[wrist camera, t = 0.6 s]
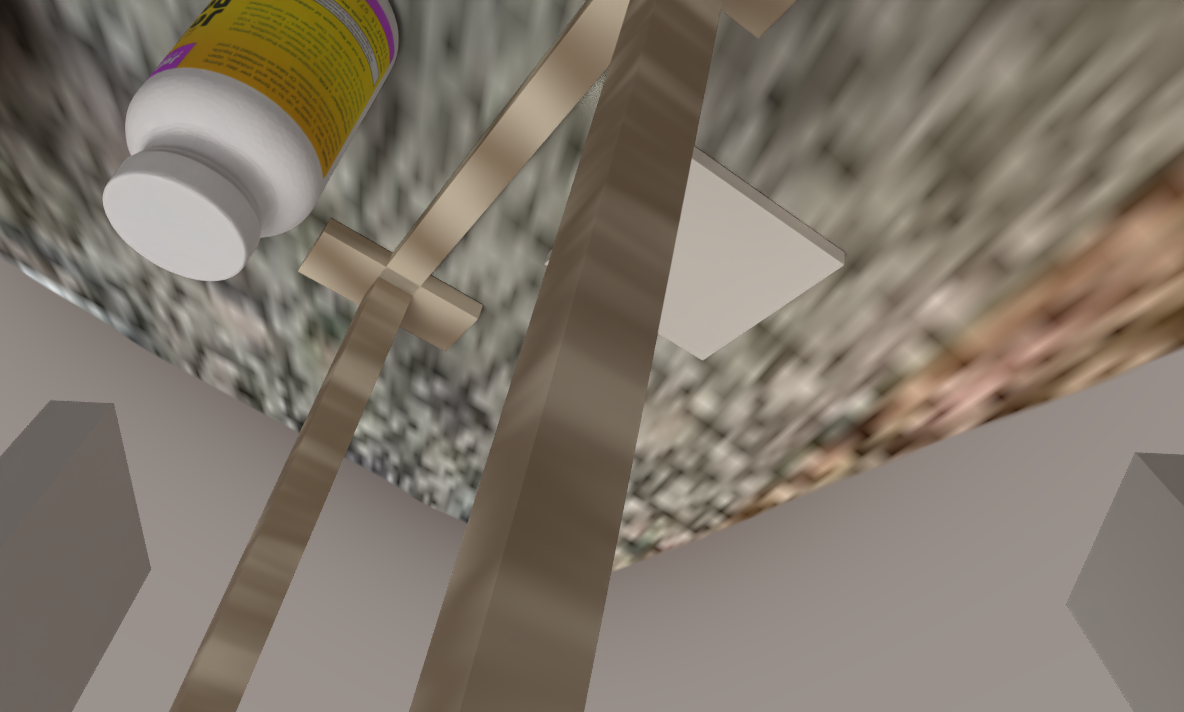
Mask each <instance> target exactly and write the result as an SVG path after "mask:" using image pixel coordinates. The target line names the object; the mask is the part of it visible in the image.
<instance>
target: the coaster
mask: <svg viewBox="0 0 1184 712" xmlns="http://www.w3.org/2000/svg"><path fill="white" fill-rule="evenodd" d="M552 249H553V248H552ZM552 249H551V250H550V251H549V252H548V254H547V258H546V261H545V264H544V265H546V266H548V262H549V259H550V256H551V253H552ZM844 256H845V252H843V251H842V250H840V249H839V248H838V247H836V246H835V245H833V244H832V243H831V242H829V241H828V240H826V239H825V238H823V237H822V236H821V235H819V234H818V233H816V232H815V231H814V230H812V229H811V228H809V227H808V226H807V225H805V224H804V223H802V222H801V221H799V220H798V219H797V218H795V217H794V216H792V215H791V214H790V213H788V212H787V211H785V210H784V209H782V208H781V207H780V206H778V205H777V204H775V203H774V202H773V201H771V200H770V199H768V198H767V197H765V196H764V195H763V194H761V193H760V192H758V191H757V190H756V189H754V188H753V187H751V186H750V185H748V184H747V183H746V182H744V181H743V180H741V179H740V178H739V177H737V176H736V175H734V174H733V173H731V172H730V171H729V170H727V169H726V168H724V167H723V166H722V165H720V164H719V163H717V162H716V161H715V160H713V159H712V158H710V157H709V156H707V155H706V154H705V153H703V152H702V151H700V150H699V149H698V148H696V147H695V146H694V150H693V155H692V160H691V165H690V170H689V176H688V181H687V186H686V191H685V196H684V201H683V206H682V211H681V217H680V222H679V227H678V232H677V237H676V242H675V247H674V252H673V258H672V263H671V268H670V273H669V278H668V283H667V288H666V293H665V299H664V304H663V309H662V314H661V319H660V324H659V329H658V334H660V335H661V336H663V337H665V338H666V339H668V340H670V341H671V342H673V343H675V344H676V345H678V346H679V347H681V348H683V349H684V350H686V351H688V352H689V353H691V354H693V355H694V356H696V357H698V358H699V359H701V360H704V359H705V358H707V357H708V356H710V355H711V354H713V353H714V352H716V351H717V350H719V349H720V348H722V347H723V346H725V345H726V344H728V343H729V342H731V341H732V340H734V339H735V338H737V337H738V336H740V335H741V334H743V333H744V332H745V331H747V330H748V329H750V328H751V327H753V326H754V325H756V324H757V323H759V322H760V321H762V320H763V319H765V318H766V317H768V316H769V315H771V314H772V313H774V312H775V311H777V310H778V309H780V308H781V307H783V306H784V305H786V304H787V303H788V302H790V301H791V300H793V299H794V298H796V297H797V296H799V295H800V294H802V293H803V292H805V291H806V290H808V289H809V288H811V287H812V286H814V285H815V284H817V283H818V282H820V281H821V280H823V279H824V278H826V277H827V276H829V275H830V274H831V273H833V272H834V271H836V270H837V269H839V268H840V267H842V266H843V265H844Z"/></svg>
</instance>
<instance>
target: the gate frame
mask: <svg viewBox="0 0 1184 712" xmlns="http://www.w3.org/2000/svg"><path fill="white" fill-rule="evenodd" d="M795 1H796V0H587V1H586V2H585V4H584V5H583V6H582V7H581V9H580V10H579V11H578V13H577V14H576V15H575V17H574V18H573V19H572V20H571V22H570V23H569V24H568V26H567V27H566V28H565V30H564V31H563V32H562V33H561V35H560V36H559V37H558V39H557V40H556V41H555V43H554V44H553V45H552V46H551V48H550V49H549V50H548V52H547V53H546V54H545V56H544V57H543V58H542V59H541V61H540V62H539V63H538V65H537V66H536V67H535V69H534V70H533V71H532V72H531V74H530V75H529V76H528V78H527V79H526V80H525V82H524V83H523V84H522V85H521V87H520V88H519V89H518V91H517V92H516V93H515V95H514V96H513V97H512V98H511V100H510V101H509V102H508V104H507V105H506V106H505V108H504V109H503V110H502V111H501V113H500V114H499V115H498V117H497V118H496V119H495V121H494V122H493V123H492V124H491V126H490V127H489V128H488V130H487V131H486V132H485V134H484V135H483V136H482V137H481V139H480V140H479V141H478V143H477V144H476V145H475V146H474V148H473V149H472V150H471V152H470V153H469V154H468V156H467V157H466V158H465V159H464V161H463V162H462V163H461V165H460V166H459V167H458V169H457V170H456V171H455V172H454V174H453V175H452V176H451V178H450V179H449V180H448V182H447V183H446V184H445V185H444V187H443V188H442V189H441V191H440V192H439V193H438V195H437V196H436V197H435V198H434V200H433V201H432V202H431V204H430V205H429V206H428V208H427V209H426V210H425V211H424V213H423V214H422V215H421V217H420V218H419V219H418V221H417V222H416V223H415V224H414V226H413V227H412V228H411V230H410V231H409V232H408V234H407V235H406V236H405V237H404V239H403V240H402V241H401V243H400V244H399V245H398V247H397V248H396V249H395V250H394V252H393V253H391V252H389V251H388V250H386V249H384V248H382V247H381V246H379V245H377V244H375V243H374V242H372V241H370V240H368V239H367V238H365V237H363V236H361V235H360V234H358V233H356V232H355V231H353V230H351V229H349V228H348V227H346V226H344V225H342V224H341V223H339V222H337V221H335V220H334V219H332V218H331V219H330V220H329V222H328V223H327V225H326V227H325V228H324V230H323V231H322V233H321V234H320V236H319V237H318V239H317V241H316V242H315V244H314V245H313V247H312V248H311V250H310V251H309V253H308V255H307V256H306V258H305V259H304V261H303V263H302V265H301V267H300V269H299V271H298V272H300V273H302V274H304V275H305V276H307V277H309V278H311V279H313V280H315V281H317V282H318V283H320V284H322V285H324V286H326V287H328V288H329V289H331V290H333V291H335V292H337V293H339V294H340V295H342V296H344V297H346V298H348V299H350V300H351V301H353V302H355V303H357V304H359V307H358V310H357V312H356V314H355V316H354V318H353V320H352V322H351V324H350V327H349V329H348V331H347V333H346V335H345V337H344V339H343V342H342V344H341V346H340V348H339V350H338V352H337V354H336V357H335V359H334V361H333V363H332V365H331V367H330V369H329V371H328V374H327V376H326V378H325V380H324V382H323V384H322V386H321V389H320V391H319V393H318V395H317V397H316V399H315V401H314V403H313V406H312V408H311V410H310V412H309V414H308V416H307V418H306V421H305V423H304V425H303V427H302V429H301V431H300V433H299V436H298V438H297V440H296V442H295V444H294V446H293V448H292V451H291V453H290V455H289V457H288V459H287V461H286V463H285V466H284V468H283V470H282V472H281V474H280V476H279V478H278V481H277V483H276V485H275V487H274V489H273V491H272V493H271V495H270V498H269V500H268V502H267V504H266V506H265V508H264V510H263V513H262V515H261V517H260V519H259V521H258V523H257V525H256V527H255V530H254V532H253V534H252V536H251V538H250V540H249V543H248V545H247V547H246V549H245V551H244V553H243V555H242V557H241V559H240V561H239V564H238V566H237V568H236V570H235V572H234V574H233V577H232V579H231V581H230V583H229V585H228V587H227V589H226V592H225V594H224V596H223V598H222V600H221V602H220V604H219V606H218V608H217V611H216V613H215V615H214V617H213V619H212V621H211V624H210V626H209V628H208V630H207V632H206V634H205V636H204V639H203V640H202V643H201V645H200V647H199V649H198V651H197V654H196V655H195V658H194V660H193V662H192V664H191V666H190V668H189V670H188V673H187V675H186V677H185V679H184V681H183V684H182V685H181V687H180V690H179V692H178V694H177V696H176V698H175V700H174V702H173V705H172V707H171V709H170V711H169V712H236V710H237V708H238V705H239V703H240V701H241V698H242V696H243V694H244V691H245V689H246V687H247V684H248V682H249V680H250V677H251V675H252V672H253V670H254V668H255V665H256V663H257V660H258V658H259V656H260V654H261V651H262V649H263V647H264V644H265V642H266V640H267V637H268V635H269V632H270V630H271V628H272V625H273V623H274V621H275V618H276V616H277V614H278V611H279V609H280V607H281V604H282V602H283V599H284V597H285V595H286V592H287V590H288V588H289V585H290V583H291V580H292V578H293V576H294V574H295V571H296V569H297V566H298V564H299V561H300V559H301V557H302V555H303V552H304V550H305V547H306V545H307V543H308V540H309V538H310V536H311V533H312V531H313V529H314V526H315V524H316V521H317V519H318V517H319V515H320V512H321V510H322V508H323V505H324V502H325V500H326V498H327V496H328V493H329V491H330V489H331V486H332V484H333V482H334V479H335V477H336V474H337V472H338V470H339V468H340V465H341V462H342V460H343V458H344V456H345V453H346V451H347V449H348V446H349V444H350V442H351V439H352V437H353V435H354V432H355V430H356V427H357V425H358V423H359V420H360V418H361V416H362V413H363V411H364V409H365V406H366V404H367V402H368V399H369V397H370V394H371V392H372V390H373V387H374V385H375V383H376V380H377V378H378V376H379V373H380V371H381V369H382V366H383V364H384V361H385V359H386V357H387V354H388V352H389V350H390V347H391V345H392V343H393V340H394V338H395V336H396V333H397V331H398V328H399V327H401V328H403V329H405V330H407V331H408V332H410V333H412V334H414V335H416V336H418V337H419V338H421V339H423V340H425V341H427V342H429V343H430V344H432V345H434V346H436V347H438V348H440V349H441V350H443V351H445V352H446V351H447V350H448V349H449V348H450V347H451V346H452V345H453V344H454V343H455V342H456V341H457V340H458V339H459V338H460V337H461V336H462V335H463V334H464V333H465V332H466V331H467V330H468V329H469V328H470V327H471V326H472V325H473V324H474V323H475V322H476V321H477V320H478V318H479V315H480V312H481V309H482V307H483V305H482V304H480V303H478V302H477V301H475V300H473V299H471V298H470V297H468V296H466V295H464V294H463V293H461V292H459V291H457V290H456V289H454V288H452V287H450V286H449V285H447V284H445V283H443V282H442V281H440V280H438V279H436V278H435V277H433V276H431V275H430V274H431V273H432V272H433V271H434V270H435V269H436V267H437V266H438V265H439V264H440V263H441V262H442V260H443V259H444V258H445V257H446V256H447V255H448V253H449V252H450V251H451V250H452V249H453V248H454V246H455V245H456V244H457V243H458V242H459V241H460V239H461V238H462V237H463V236H464V235H465V234H466V232H467V231H468V230H469V229H470V228H471V227H472V225H473V224H474V223H475V222H476V221H477V219H478V218H479V217H480V216H481V215H482V214H483V212H484V211H485V210H486V209H487V208H488V207H489V205H490V204H491V203H492V202H493V201H494V200H495V198H496V197H497V196H498V195H499V194H500V193H501V191H502V190H503V189H504V188H505V187H506V186H507V184H508V183H509V182H510V181H511V180H512V179H513V177H514V176H515V175H516V174H517V173H518V172H519V170H520V169H521V168H522V167H523V166H524V165H525V163H526V162H527V161H528V160H529V159H530V157H531V156H532V155H533V154H534V153H535V152H536V150H537V149H538V148H539V147H540V146H541V145H542V143H543V142H544V141H545V140H546V139H547V138H548V136H549V135H550V134H551V133H552V132H553V131H554V129H555V128H556V127H557V126H558V125H559V124H560V122H561V121H562V120H563V119H564V118H565V117H566V115H567V114H568V113H569V112H570V111H571V110H572V108H573V107H574V106H575V105H576V104H577V103H578V101H579V100H580V99H581V98H582V97H583V95H584V94H585V93H586V92H587V91H588V90H589V88H590V87H591V86H592V85H593V84H594V83H595V81H596V80H597V79H598V78H599V77H600V76H601V74H602V73H603V72H604V71H605V70H606V69H607V67H608V66H609V65H610V66H609V69H608V72H607V75H606V79H605V82H604V85H603V88H602V92H601V95H600V98H599V101H598V104H597V108H596V111H595V114H594V117H593V121H592V124H591V127H590V130H589V133H588V137H587V140H586V143H585V146H584V150H583V153H582V156H581V159H580V162H579V166H578V169H577V172H576V175H575V179H574V182H573V185H572V188H571V191H570V195H569V198H568V201H567V204H566V208H565V211H564V214H563V217H562V220H561V224H560V227H559V230H558V233H557V237H556V240H555V243H554V246H553V249H552V253H551V256H550V259H549V262H548V266H547V269H546V272H545V275H544V278H543V282H542V285H541V288H540V291H539V295H538V298H537V301H536V304H535V307H534V311H533V314H532V317H531V320H530V324H529V327H528V330H527V333H526V336H525V340H524V343H523V346H522V349H521V353H520V356H519V359H518V362H517V365H516V369H515V372H514V375H513V378H512V382H511V385H510V388H509V391H508V395H507V398H506V401H505V404H504V407H503V411H502V414H501V417H500V420H499V424H498V427H497V430H496V433H495V436H494V440H493V443H492V446H491V449H490V453H489V456H488V459H487V462H486V465H485V469H484V472H483V475H482V478H481V482H480V485H479V488H478V491H477V494H476V498H475V501H474V504H473V507H472V511H471V514H470V517H469V520H468V523H467V527H466V530H465V533H464V537H463V540H462V543H461V546H460V549H459V553H458V556H457V559H456V562H455V565H454V569H453V572H452V575H451V578H450V582H449V585H448V588H447V591H446V595H445V598H444V601H443V604H442V607H441V611H440V614H439V617H438V620H437V624H436V627H435V630H434V633H433V636H432V639H431V643H430V646H429V649H428V653H427V656H426V659H425V662H424V666H423V669H422V672H421V675H420V678H419V681H418V685H417V688H416V691H415V694H414V698H413V701H412V704H411V707H410V710H409V712H584V709H585V703H586V699H587V693H588V688H589V683H590V678H591V673H592V668H593V662H594V658H595V652H596V647H597V642H598V637H599V632H600V627H601V622H602V616H603V611H604V606H605V601H606V596H607V590H608V586H609V580H610V575H611V570H612V565H613V560H614V555H615V550H616V545H617V540H618V534H619V529H620V524H621V519H622V514H623V509H624V504H625V499H626V493H627V488H628V483H629V478H630V473H631V468H632V463H633V458H634V452H635V447H636V442H637V437H638V432H639V427H640V422H641V417H642V411H643V406H644V401H645V396H646V391H647V386H648V381H649V376H650V370H651V365H652V360H653V355H654V350H655V345H656V340H657V334H658V329H659V324H660V319H661V314H662V309H663V304H664V299H665V293H666V288H667V283H668V278H669V273H670V268H671V263H672V258H673V252H674V247H675V242H676V237H677V232H678V227H679V222H680V217H681V211H682V206H683V201H684V196H685V191H686V186H687V181H688V176H689V170H690V165H691V160H692V155H693V150H694V145H695V140H696V135H697V129H698V124H699V119H700V114H701V109H702V104H703V99H704V94H705V88H706V83H707V78H708V73H709V68H710V63H711V58H712V52H713V47H714V42H715V37H716V32H717V27H718V22H719V17H720V11H721V10H722V11H723V12H725V13H726V14H727V15H729V16H730V17H731V18H732V19H734V20H735V21H736V22H738V23H739V24H740V25H741V26H743V27H744V28H745V29H746V30H748V31H749V32H750V33H752V34H753V35H754V36H755V37H757V38H759V37H760V36H761V35H762V34H763V33H764V32H765V31H766V30H767V29H768V28H769V27H770V26H771V25H772V24H773V23H774V22H775V21H776V20H777V19H778V18H779V17H780V16H781V15H782V14H783V13H784V12H785V11H786V10H787V9H788V8H789V7H790V6H791V5H792V4H793V3H794V2H795Z"/></svg>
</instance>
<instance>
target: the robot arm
mask: <svg viewBox="0 0 1184 712" xmlns="http://www.w3.org/2000/svg"><path fill="white" fill-rule="evenodd" d="M150 570H151V567H150V562H149V558H148V553H147V549H146V544H145V541H144V536H143V532H142V527H141V523H140V518H139V513H138V509H137V504H136V500H135V495H134V491H133V486H132V482H131V478H130V473H129V469H128V464H127V460H126V455H125V451H124V446H123V442H122V437H121V433H120V429H119V424H118V419H117V416H116V411H115V406H114V403H95V402H74V401H73V402H72V401H53V400H51V401H49V403H48V404H47V405H46V406H45V407H44V408H43V409H42V410H41V411H40V412H39V414H38V415H37V416H36V417H35V418H34V419H33V420H32V421H31V423H30V424H29V425H28V426H27V427H26V428H25V429H24V430H23V432H22V433H21V434H20V435H19V436H18V437H17V438H16V439H15V441H14V442H13V443H12V444H11V445H10V446H9V447H8V448H7V449H6V451H5V452H4V453H3V454H2V455H1V456H0V712H72V710H73V709H74V707H75V705H76V703H77V702H78V700H79V698H80V696H81V694H82V693H83V690H84V689H85V687H86V685H87V684H88V682H89V680H90V678H91V676H92V675H93V673H94V671H95V669H96V667H97V666H98V664H99V662H100V660H101V658H102V657H103V655H104V653H105V651H106V650H107V648H108V646H109V644H110V642H111V641H112V639H113V637H114V635H115V633H116V632H117V630H118V628H119V626H120V624H121V623H122V621H123V619H124V617H125V615H126V614H127V612H128V610H129V608H130V606H131V604H132V603H133V601H134V599H135V597H136V596H137V593H138V592H139V590H140V588H141V586H142V585H143V583H144V581H145V579H146V578H147V576H148V574H149V572H150ZM1066 605H1067V607H1068V608H1069V610H1070V611H1071V613H1072V615H1073V616H1074V618H1075V619H1076V621H1077V623H1078V624H1079V626H1080V627H1081V629H1082V630H1083V632H1084V634H1085V635H1086V637H1087V638H1088V640H1089V641H1090V643H1091V645H1092V646H1093V648H1094V649H1095V651H1096V653H1097V654H1098V656H1099V657H1100V659H1101V660H1102V662H1103V664H1104V665H1105V667H1106V668H1107V670H1108V671H1109V673H1110V674H1111V676H1112V678H1113V679H1114V681H1115V683H1116V684H1117V686H1118V687H1119V689H1120V690H1121V692H1122V694H1123V695H1124V697H1125V698H1126V700H1127V701H1128V703H1129V705H1130V706H1131V708H1132V709H1133V711H1134V712H1184V455H1179V454H1158V453H1137V452H1136V453H1135V454H1134V456H1133V458H1132V461H1131V463H1130V465H1129V467H1128V469H1127V472H1126V474H1125V476H1124V478H1123V480H1122V483H1121V485H1120V487H1119V489H1118V491H1117V494H1116V496H1115V498H1114V500H1113V503H1112V505H1111V507H1110V509H1109V511H1108V513H1107V516H1106V518H1105V520H1104V522H1103V525H1102V527H1101V529H1100V531H1099V533H1098V536H1097V538H1096V540H1095V542H1094V544H1093V546H1092V549H1091V551H1090V553H1089V555H1088V557H1087V560H1086V562H1085V564H1084V566H1083V568H1082V571H1081V573H1080V575H1079V577H1078V580H1077V582H1076V584H1075V586H1074V588H1073V590H1072V592H1071V595H1070V597H1069V599H1068V601H1067V604H1066Z"/></svg>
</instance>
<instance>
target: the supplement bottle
mask: <svg viewBox="0 0 1184 712" xmlns="http://www.w3.org/2000/svg"><path fill="white" fill-rule="evenodd" d="M398 44H399V36H398V27H397V22H396V19H395V15H394V13H393V10H392V8H391V5H390V3H389V1H388V0H212V1H211V2H210V3H209V4H208V6H207V7H206V8H205V9H204V11H203V12H202V13H201V14H200V16H199V17H198V18H197V19H196V20H195V22H194V23H193V24H192V25H191V26H190V28H189V29H188V30H187V31H186V32H185V34H184V35H183V36H182V37H181V39H180V40H179V41H178V43H177V44H176V45H175V46H174V48H173V49H172V50H171V51H170V52H169V54H168V55H167V56H166V57H165V58H164V60H163V61H162V62H161V63H160V65H159V66H158V67H157V68H156V69H155V71H154V72H153V73H152V74H151V75H150V77H149V78H148V79H147V80H146V81H145V82H144V84H143V85H142V86H141V88H140V89H139V90H138V91H137V93H136V94H135V95H134V97H133V99H132V101H131V103H130V105H129V108H128V111H127V115H126V121H125V133H126V141H127V145H128V149H129V152H130V154H131V156H130V157H128V158H127V159H126V160H125V161H124V162H123V163H122V164H121V165H120V167H119V168H118V170H117V171H116V173H115V174H114V175H113V177H112V178H111V179H110V180H109V182H108V183H107V185H106V187H105V189H104V192H103V206H104V209H105V212H106V215H107V217H108V219H109V221H110V223H111V224H112V226H113V228H114V229H115V230H116V232H117V233H118V234H119V235H120V236H121V238H122V239H123V240H124V241H125V242H126V243H127V244H129V245H130V246H131V247H132V248H133V249H134V250H135V251H137V252H138V253H139V254H141V255H142V256H143V257H145V258H146V259H148V260H149V261H151V262H152V263H154V264H156V265H158V266H160V267H161V268H163V269H166V270H168V271H170V272H173V273H176V274H178V275H181V276H184V277H188V278H192V279H196V280H203V281H219V280H225V279H228V278H230V277H233V276H235V275H236V274H238V273H239V272H240V271H241V270H242V269H243V267H244V266H245V264H246V263H247V261H248V260H249V258H250V256H251V255H252V254H253V252H254V251H255V249H256V248H257V246H258V244H259V241H260V238H261V237H270V236H275V235H278V234H281V233H284V232H286V231H289V230H290V229H292V228H294V227H295V226H297V225H299V224H300V223H301V222H302V221H303V220H304V219H305V218H306V217H307V216H308V215H309V214H310V212H311V211H312V209H313V208H314V206H315V204H316V203H317V201H318V199H319V197H320V195H321V193H322V192H323V190H324V188H325V186H326V184H327V182H328V181H329V179H330V177H331V175H332V173H333V172H334V170H335V168H336V166H337V164H338V163H339V161H340V159H341V157H342V156H343V154H344V152H345V150H346V149H347V147H348V145H349V143H350V141H351V140H352V138H353V136H354V134H355V133H356V131H357V129H358V128H359V126H360V124H361V122H362V121H363V119H364V117H365V115H366V114H367V112H368V110H369V108H370V107H371V105H372V103H373V101H374V100H375V98H376V96H377V94H378V93H379V91H380V89H381V87H382V85H383V84H384V82H385V80H386V78H387V77H388V75H389V73H390V71H391V69H392V67H393V65H394V63H395V60H396V57H397V52H398Z"/></svg>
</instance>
